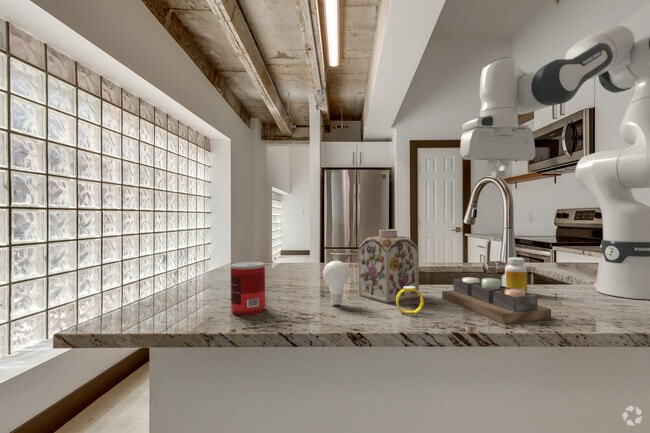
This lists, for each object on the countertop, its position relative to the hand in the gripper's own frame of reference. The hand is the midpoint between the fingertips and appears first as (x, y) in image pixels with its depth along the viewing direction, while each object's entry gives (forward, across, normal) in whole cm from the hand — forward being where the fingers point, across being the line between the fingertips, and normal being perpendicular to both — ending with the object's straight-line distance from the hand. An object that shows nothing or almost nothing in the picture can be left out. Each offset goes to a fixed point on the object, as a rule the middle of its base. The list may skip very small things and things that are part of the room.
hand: (498, 177), depth 97 cm
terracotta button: (+29, +8, +14) cm, 33 cm away
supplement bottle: (+31, -8, -3) cm, 32 cm away
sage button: (+27, +8, +7) cm, 29 cm away
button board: (+31, +8, +7) cm, 33 cm away
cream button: (+29, +8, -1) cm, 30 cm away
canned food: (+31, +63, -8) cm, 71 cm away
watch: (+31, +28, +5) cm, 42 cm away
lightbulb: (+31, +42, -6) cm, 53 cm away
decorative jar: (+31, +26, -11) cm, 42 cm away
